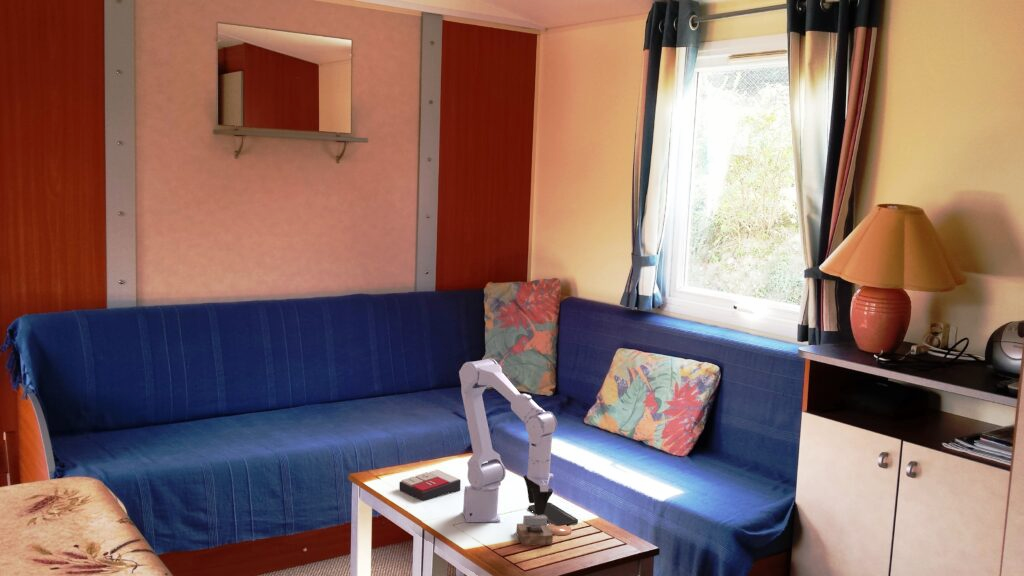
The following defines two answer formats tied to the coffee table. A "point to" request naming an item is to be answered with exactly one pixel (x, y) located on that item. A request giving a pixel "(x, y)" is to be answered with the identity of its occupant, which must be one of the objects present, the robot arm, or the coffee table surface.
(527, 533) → the socket block
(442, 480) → the black red flat box
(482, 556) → the coffee table surface
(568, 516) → the phone
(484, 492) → the robot arm
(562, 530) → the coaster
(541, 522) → the t key
